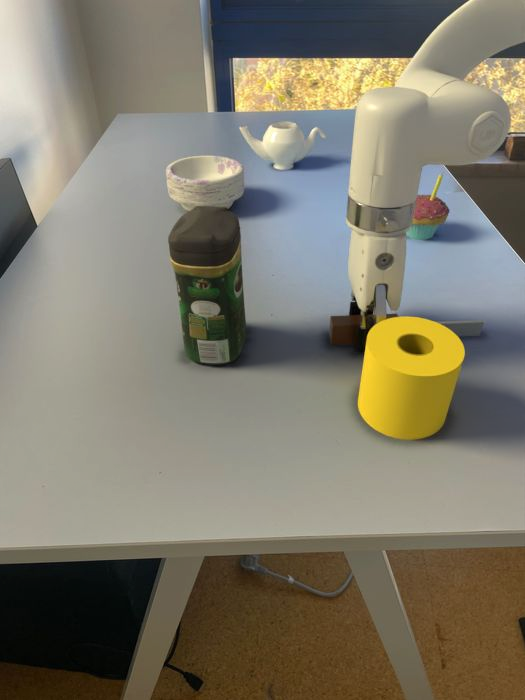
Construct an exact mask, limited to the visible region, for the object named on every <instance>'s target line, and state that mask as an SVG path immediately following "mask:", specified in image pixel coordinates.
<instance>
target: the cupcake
mask: <svg viewBox="0 0 525 700" xmlns="http://www.w3.org/2000/svg"><path fill="white" fill-rule="evenodd" d="M444 173H445V170H443V171H442V172H441V173H440V174H439V175H438V177H437V179H436V182H435V184H434V188H433V191H432V192H431V194H418V195H417V200H416V205H415V211H414V216H413V222H412V227H411V229H410V230H409V231H407V232H406V237H408V238H410V239H413V240H416V241H425V240H426V241H427V240H430V239H432V238H433V237H434V235H435V233H436V231H437V230H438V228H439V226H440V225H442V224H444V223H445V222H446V221H447V218H448V216H449V214H450V211H451V209H450V208H449V206H448V205H447V203H446V202H445V201H443V199H441V198H440V197H439V196H437V193H438V191H439V188H440V185H441V183H442V181H443V177H444V176H443V174H444Z"/></svg>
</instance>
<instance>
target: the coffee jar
mask: <svg viewBox="0 0 525 700" xmlns="http://www.w3.org/2000/svg"><path fill="white" fill-rule="evenodd" d="M167 242H168V249H169V259H170V262H171V265H172V268H173V272H174V278H175V284H176V290H177V291H176V292H177V297H178V298H177V299H178V305H179V306H178V307H179V311H180V312H179V314H180V321H181V332H182V341H183V347H184V353H185V355H186V357H187V358H188V359H189V360H191V361H192V362H195V363H199V364H201V365H206V366H207V365H208V366H220V365H226V364H230V363H232V362H234V361H236V360H237V358H239V356H240V354H241V352H242V350H243V348H244V345H245V341H246V339H247V338H246V337H247V320H246V319H247V318H246V309H245V307H246V306H245V294H244V277H243V258H242V235H241V225H240V221H239V219H238V217H237V215H236V214H235V213H233V212H232V211H231V210H230V209H229V208H226V207H214V206H195V207H194V208H193V209H192V210H190V211H187V212H186V213H184V214H182V215H181V216H180V217H179V218H178V219H177V221H176V223H174V225H173V226H172V229H170V232H169V234H168V237H167Z"/></svg>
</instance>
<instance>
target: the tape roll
mask: <svg viewBox="0 0 525 700" xmlns="http://www.w3.org/2000/svg"><path fill="white" fill-rule="evenodd" d="M437 322H438V321H434V320H431V319H427V318H423V317H418V316H398V317H394V318H389V319H386V320H383V321H381V322H379V323H377V324H376V325H374V326H373V327H372V328H371V330H370V331H369V333H368V335H367V340H366V347H365V351H364V355H363V363H362V368H361V369H362V370H361V371H362V372H361V376H360V384H359V390H358V398H357V407H358V408H357V409H358V412H359V414H360V415H361V417H362V419H363V420H364V421H365V422H366V424H368V425H369V426H370V427H372V429H374V430H375V431H376V432H379V433H381V434H383V435H384V436H386V437H390V438H394V439H398V440H404V441H405V440H406V441H409V440H410V441H413V440H421V439H425V438H428V437H430V436H433V435H434V434H436V433H437V432H439V431H440V429H441V428H442V427H443V426H444V424H445V422H446V419H447V415H448V412H449V409H450V405H451V401H452V398H453V396H454V392H455V388H456V385H457V382H458V379H459V375H460V372H461V369H462V366H463V365H462V364H463V361H464V359H465V356H466V351H465V346H464V344H463V342H462V340H461V339H460V336H457V335H456V334H455V333H454V332H452V331H451V330H450V329H448V328H447V327H445V326H443V325H441V324H439V323H437Z"/></svg>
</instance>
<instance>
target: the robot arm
mask: <svg viewBox="0 0 525 700" xmlns="http://www.w3.org/2000/svg"><path fill="white" fill-rule="evenodd" d="M523 43H525V0H468V1H467V2H464V4H462V5H461V6H460V7H458V8H457V9H456V10H454V11H453V12H452V13H451V14H450V15H448V16H447V17H446V18H445V19H443V21H441V22H440V23H439V25H437V27H436V28H435V29H433V31H432V32H431V33H430V34H429V36H428V37H427V38H426V39H425V41H424V42H423V43H422V44H421V46H420V47H419V49H418V50H417V51H416V53H415V54H414V55H413V57H412V58H411V59H410V61H409V62H408V63H407V65H406V67H404V70H403V71H402V72H401V74H400V75H399V77H398V79H397V81H396V82H395V85H394V86H385V87H377V88H373V89H370V90H368V91H366V92H364V93H362V95H361V97H360V98H359V99H358V101H357V104H356V106H355V107H356V108H355V114H354V126H353V136H352V145H351V146H352V147H351V156H350V168H349V178H348V179H349V181H348V190H347V202H346V213H345V214H346V215H345V223H346V226H347V227H348V228H349V229H351V234H350V241H349V249H348V258H347V259H348V263H347V274H348V279H349V282H350V286H351V289H352V290H351V294H350V299H351V301H350V302H349V312H348V315H361V317H360V324H357V331H356V340H355V344H354V350H355V351H356V352H365V347H366V340H367V335H368V333H369V331H370V330H371V328H372V327H373V326H374V325H376V324H377V323H379V322H381V321H383V320H386V314H387V305H388V308H389V310H390V311H391V312H393V311H394V312H397V311H398V310H399V309H400V307H401V301H402V295H403V288H404V280H405V279H404V278H405V272H406V271H405V270H406V261H407V234H406V232H407V231H409V230H410V229H411V227H412V222H413V216H414V211H415V205H416V200H417V195H419V190H420V189H419V188H420V182H421V178H422V173H423V168H424V167H425V166H429V165H430V166H467V165H472V164H476V163H478V162H481V161H484V160H485V159H487V158H489V157H490V156H492V155H493V154H494V153H496V152H497V151H498V150H499V148H500V147H501V146H502V145H503V144H504V142H505V140H506V139H507V136H508V134H509V132H510V128H511V125H512V124H511V122H512V121H511V120H512V115H511V112H510V111H511V110H510V108H509V105H508V103H507V102H506V100H505V99H504V98H503V96H501V95H500V94H499V93H498V92H496V91H494V90H492V89H491V88H488V87H485V86H483V85H479V84H476V83H472V82H470V81H467V80H464V79H466V77H467V76H468V75H470V73H471V72H472V71H474V69H476V68H477V67H478V66H479V65H480V64H482V63H483V62H485V61H486V60H488V59H489V58H491V57H492V56H495V55H496V54H498V53H500V52H502V51H504V50H507V49H509V48H511V47H514V46H517V45H519V44H523ZM371 314H374V316H373V317H368V318H367V315H371Z"/></svg>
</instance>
